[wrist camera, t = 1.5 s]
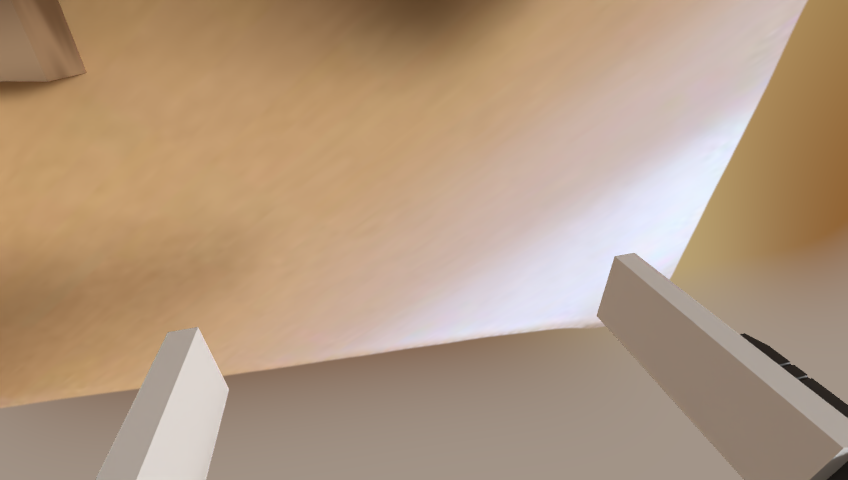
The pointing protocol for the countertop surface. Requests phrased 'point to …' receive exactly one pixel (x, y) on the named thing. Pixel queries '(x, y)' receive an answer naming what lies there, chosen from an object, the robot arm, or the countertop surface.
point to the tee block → (36, 42)
